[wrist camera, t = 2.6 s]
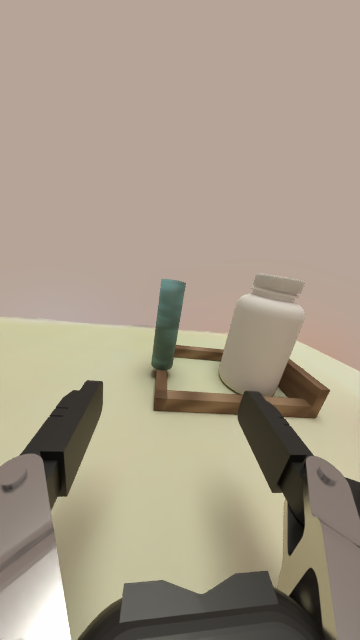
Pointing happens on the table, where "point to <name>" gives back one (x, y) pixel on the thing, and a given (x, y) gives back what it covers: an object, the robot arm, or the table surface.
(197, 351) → the brown wooden frame
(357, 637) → the robot arm
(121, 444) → the table surface
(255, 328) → the pill bottle
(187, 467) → the table surface
